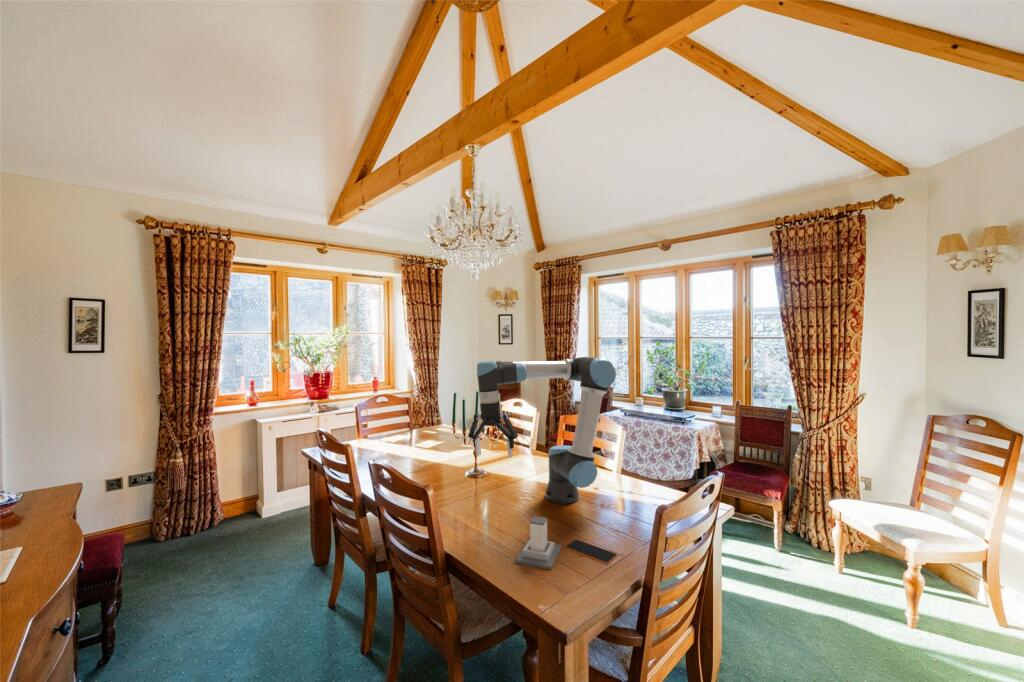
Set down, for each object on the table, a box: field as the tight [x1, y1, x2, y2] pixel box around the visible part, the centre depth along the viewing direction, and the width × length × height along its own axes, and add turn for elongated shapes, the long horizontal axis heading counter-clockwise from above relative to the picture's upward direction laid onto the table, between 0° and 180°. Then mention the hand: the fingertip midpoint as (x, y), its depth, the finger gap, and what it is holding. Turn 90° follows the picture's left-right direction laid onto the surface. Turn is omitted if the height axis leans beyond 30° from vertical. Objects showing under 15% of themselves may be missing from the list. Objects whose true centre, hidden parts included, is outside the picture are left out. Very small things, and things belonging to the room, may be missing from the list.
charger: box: [529, 515, 548, 553], centre depth 140 cm, size 4×4×11 cm
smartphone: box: [564, 538, 619, 565], centre depth 142 cm, size 8×17×1 cm, turn 50°
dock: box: [514, 539, 562, 570], centre depth 140 cm, size 14×12×3 cm
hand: (494, 456), depth 161 cm, fingers open, 13 cm apart
